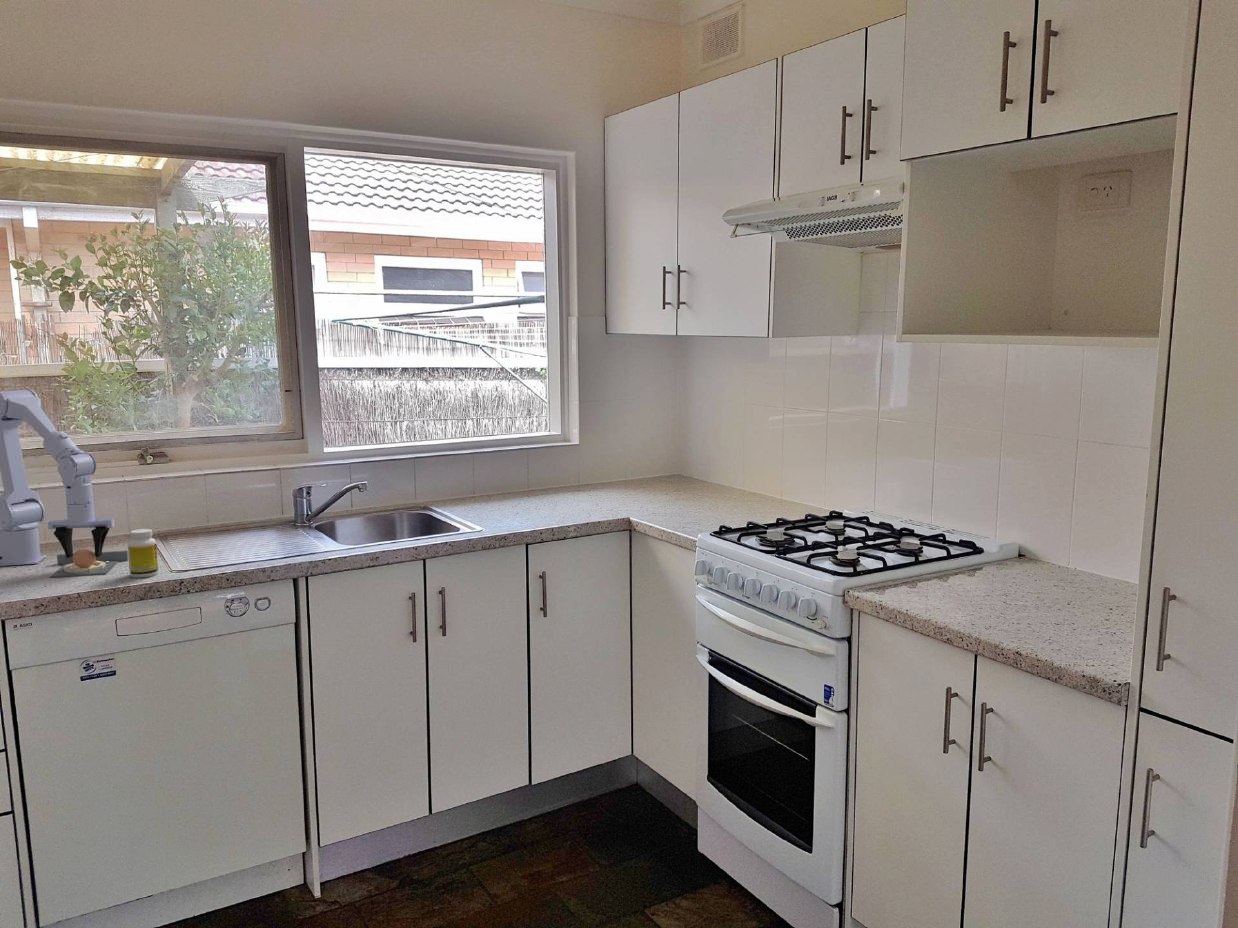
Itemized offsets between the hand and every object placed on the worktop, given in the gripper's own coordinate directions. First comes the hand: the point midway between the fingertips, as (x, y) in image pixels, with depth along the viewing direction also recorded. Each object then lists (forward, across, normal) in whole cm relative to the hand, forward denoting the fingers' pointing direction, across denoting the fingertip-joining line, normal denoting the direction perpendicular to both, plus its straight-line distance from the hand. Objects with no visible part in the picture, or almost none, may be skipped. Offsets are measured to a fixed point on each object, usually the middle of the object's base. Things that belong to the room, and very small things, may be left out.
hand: (84, 556), depth 227 cm
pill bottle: (+4, -16, +7) cm, 18 cm away
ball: (+3, 0, 0) cm, 3 cm away
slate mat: (+3, 0, 0) cm, 3 cm away
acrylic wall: (+3, +1, -8) cm, 9 cm away
